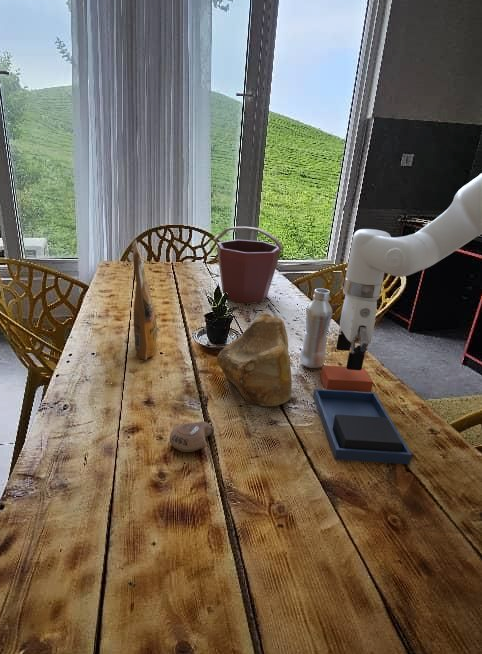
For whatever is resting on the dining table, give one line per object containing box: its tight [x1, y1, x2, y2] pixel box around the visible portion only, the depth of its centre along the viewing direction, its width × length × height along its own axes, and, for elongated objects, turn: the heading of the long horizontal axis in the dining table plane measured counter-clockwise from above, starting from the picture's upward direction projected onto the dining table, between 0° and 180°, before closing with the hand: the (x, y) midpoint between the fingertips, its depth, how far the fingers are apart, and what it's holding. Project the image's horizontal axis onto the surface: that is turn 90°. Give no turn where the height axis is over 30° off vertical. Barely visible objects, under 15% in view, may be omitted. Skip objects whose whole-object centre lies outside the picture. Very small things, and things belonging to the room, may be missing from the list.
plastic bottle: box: [299, 288, 333, 369], centre depth 110 cm, size 6×7×20 cm
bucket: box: [213, 226, 284, 304], centre depth 160 cm, size 24×22×25 cm
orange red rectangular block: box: [320, 364, 374, 392], centre depth 104 cm, size 10×7×4 cm
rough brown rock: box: [216, 312, 292, 407], centre depth 100 cm, size 23×17×15 cm
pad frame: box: [312, 388, 413, 465], centre depth 88 cm, size 13×21×2 cm, turn 177°
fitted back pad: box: [333, 414, 402, 452], centre depth 83 cm, size 10×8×4 cm
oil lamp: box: [169, 420, 215, 453], centre depth 82 cm, size 9×4×8 cm
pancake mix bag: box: [131, 239, 158, 361], centre depth 114 cm, size 7×19×28 cm, turn 2°
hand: (348, 359), depth 102 cm, fingers open, 9 cm apart
